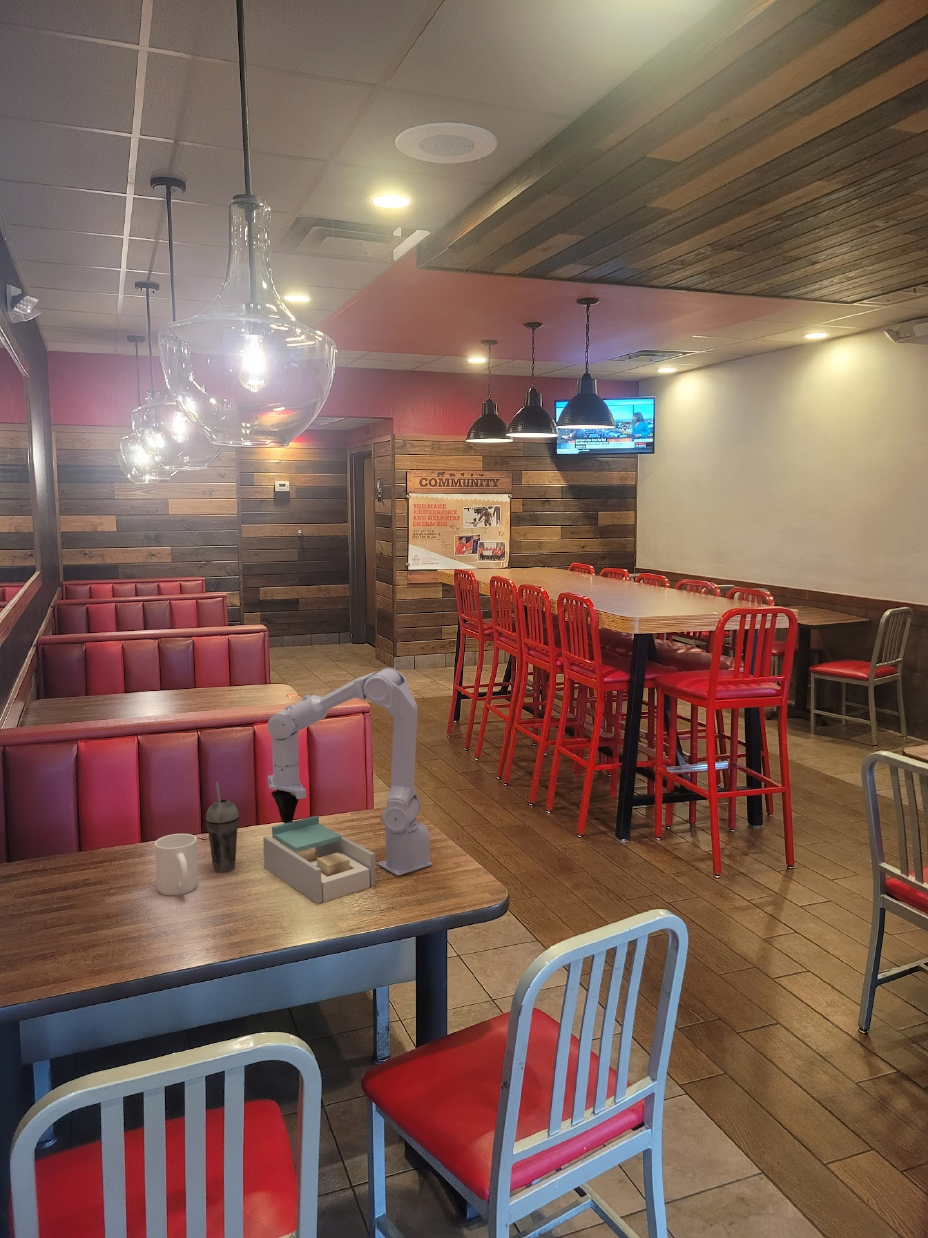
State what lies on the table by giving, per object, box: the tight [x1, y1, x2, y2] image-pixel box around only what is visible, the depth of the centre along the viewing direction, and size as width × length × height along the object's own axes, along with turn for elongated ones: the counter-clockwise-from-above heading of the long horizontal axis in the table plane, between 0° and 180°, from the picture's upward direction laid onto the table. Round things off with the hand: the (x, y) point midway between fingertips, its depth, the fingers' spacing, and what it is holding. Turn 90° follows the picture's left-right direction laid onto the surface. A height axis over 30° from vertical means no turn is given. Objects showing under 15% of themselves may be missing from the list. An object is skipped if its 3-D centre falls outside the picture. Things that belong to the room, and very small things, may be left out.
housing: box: [263, 825, 376, 905], centre depth 186 cm, size 14×24×7 cm, turn 39°
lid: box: [271, 815, 343, 853], centre depth 189 cm, size 11×11×2 cm
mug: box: [154, 833, 199, 897], centre depth 179 cm, size 12×8×10 cm
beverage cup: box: [204, 781, 240, 874], centre depth 189 cm, size 7×7×20 cm
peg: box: [316, 853, 350, 877], centre depth 181 cm, size 5×5×6 cm
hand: (287, 821), depth 196 cm, fingers closed
